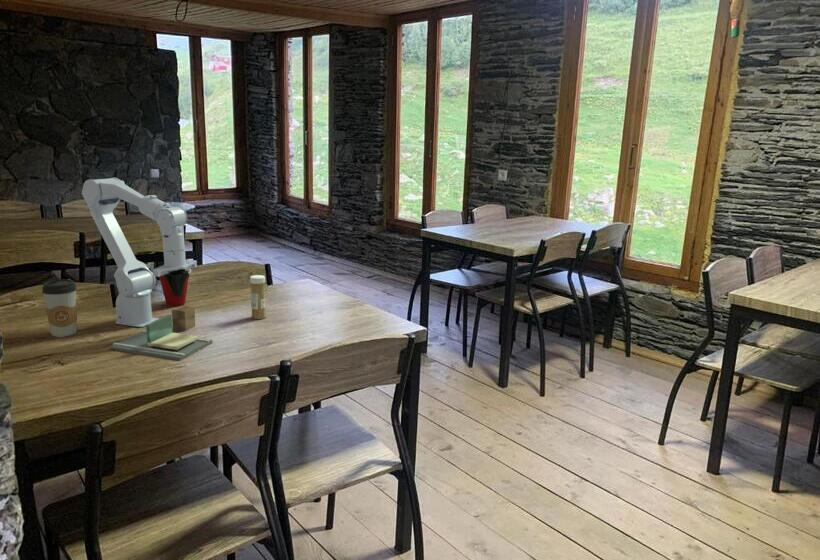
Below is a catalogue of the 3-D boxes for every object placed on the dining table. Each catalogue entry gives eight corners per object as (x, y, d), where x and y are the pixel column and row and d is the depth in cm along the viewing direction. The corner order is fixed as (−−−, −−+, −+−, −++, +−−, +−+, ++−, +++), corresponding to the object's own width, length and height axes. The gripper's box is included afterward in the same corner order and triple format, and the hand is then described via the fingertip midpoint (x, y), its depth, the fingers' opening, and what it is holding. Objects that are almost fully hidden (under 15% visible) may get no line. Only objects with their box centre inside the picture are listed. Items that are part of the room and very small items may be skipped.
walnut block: (172, 329, 179) (171, 309, 177) (182, 324, 183) (181, 305, 181) (185, 331, 177) (184, 311, 176) (195, 326, 182) (194, 307, 180)
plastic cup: (168, 311, 195) (165, 274, 192) (152, 303, 202) (150, 268, 199) (199, 304, 203) (197, 270, 200) (183, 297, 210) (181, 264, 207)
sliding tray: (147, 347, 161) (145, 324, 159) (169, 336, 169) (168, 314, 168) (177, 352, 158) (175, 328, 157) (197, 341, 167) (196, 318, 165)
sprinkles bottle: (268, 318, 191) (267, 277, 188) (254, 320, 189) (252, 278, 186) (262, 314, 195) (262, 273, 192) (249, 316, 193) (247, 275, 189)
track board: (109, 349, 161) (109, 344, 161) (145, 332, 174) (145, 328, 174) (180, 360, 156) (180, 356, 155) (212, 342, 169) (212, 338, 168)
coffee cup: (46, 340, 166) (40, 287, 162) (48, 331, 173) (42, 280, 169) (80, 336, 170) (75, 284, 166) (81, 327, 177) (76, 277, 173)
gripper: (164, 255, 164) (168, 303, 167) (203, 247, 177) (206, 291, 180) (145, 252, 167) (149, 300, 170) (185, 244, 180) (188, 288, 183)
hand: (177, 295), depth 175 cm, fingers closed
